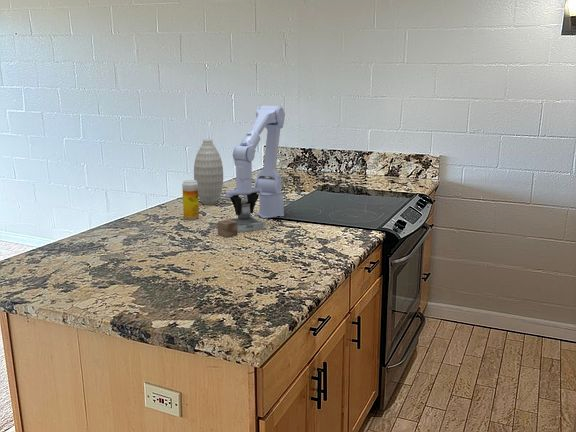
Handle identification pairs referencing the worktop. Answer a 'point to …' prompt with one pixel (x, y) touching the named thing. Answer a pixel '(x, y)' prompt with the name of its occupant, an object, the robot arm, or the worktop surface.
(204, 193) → the vase
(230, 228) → the walnut block
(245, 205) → the grooved metal cylinder
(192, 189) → the beer can
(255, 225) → the frame
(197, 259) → the worktop surface
